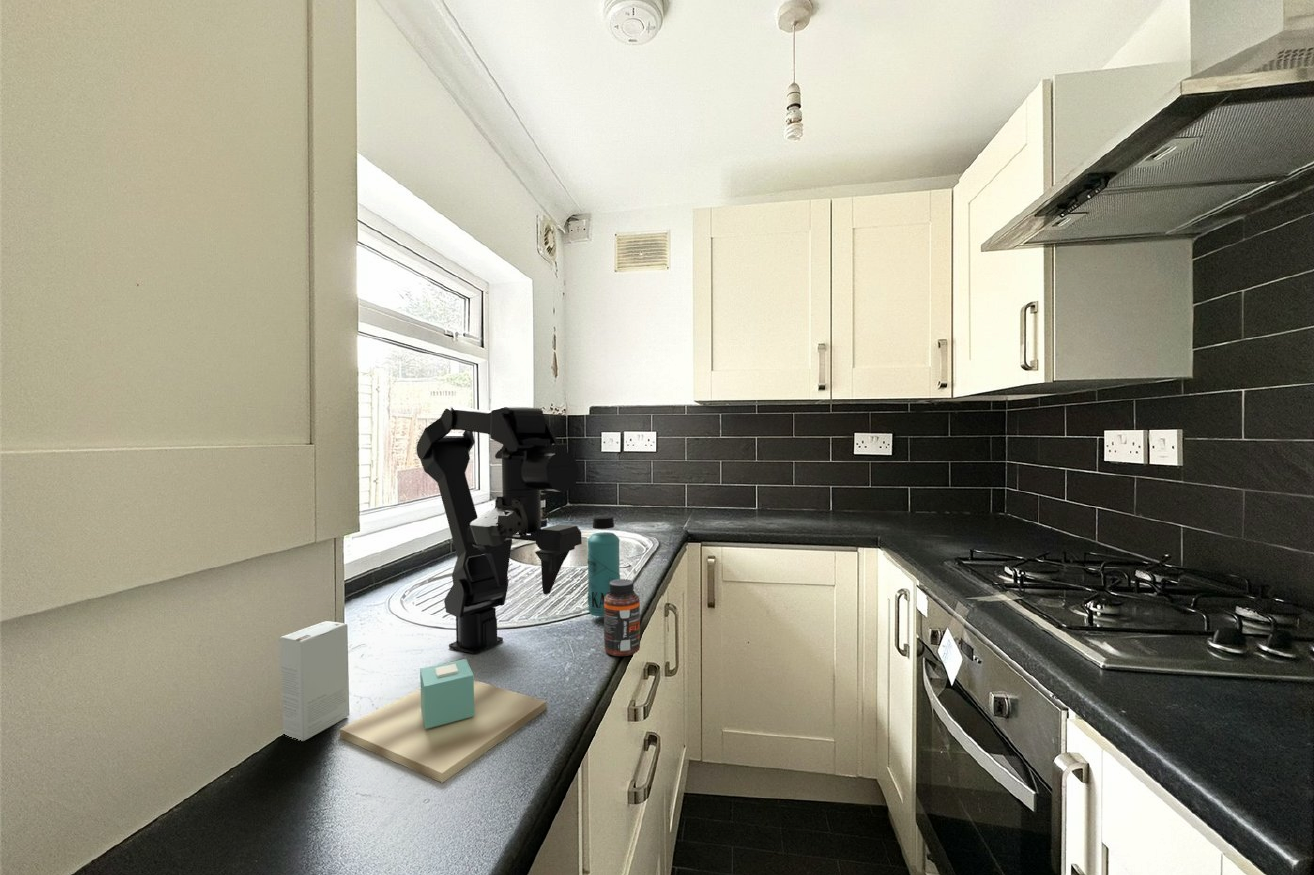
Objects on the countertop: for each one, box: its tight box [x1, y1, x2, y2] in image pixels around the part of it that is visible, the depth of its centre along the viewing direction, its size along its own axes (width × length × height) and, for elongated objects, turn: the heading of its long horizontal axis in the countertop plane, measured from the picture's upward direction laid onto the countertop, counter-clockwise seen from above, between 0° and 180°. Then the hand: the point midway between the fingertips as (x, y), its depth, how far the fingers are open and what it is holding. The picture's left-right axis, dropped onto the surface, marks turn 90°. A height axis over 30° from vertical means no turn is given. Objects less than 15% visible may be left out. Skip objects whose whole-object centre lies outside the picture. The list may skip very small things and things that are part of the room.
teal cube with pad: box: [419, 658, 475, 729], centre depth 64 cm, size 6×6×5 cm
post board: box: [339, 679, 547, 784], centre depth 64 cm, size 18×16×4 cm
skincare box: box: [278, 620, 350, 742], centre depth 63 cm, size 6×4×12 cm
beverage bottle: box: [586, 515, 621, 618], centre depth 99 cm, size 6×7×20 cm
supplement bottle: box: [603, 578, 641, 657], centre depth 84 cm, size 6×6×11 cm
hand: (523, 590), depth 79 cm, fingers open, 9 cm apart
